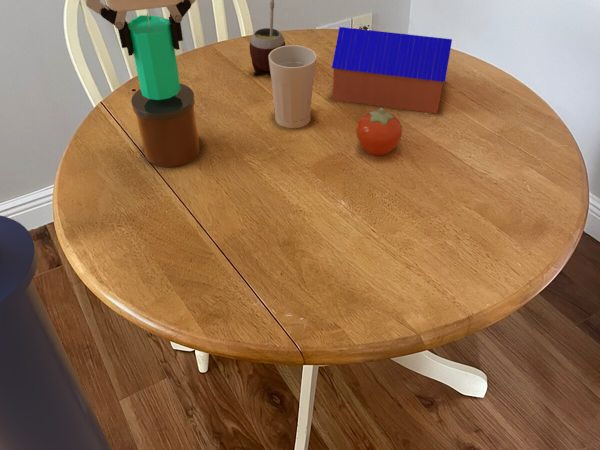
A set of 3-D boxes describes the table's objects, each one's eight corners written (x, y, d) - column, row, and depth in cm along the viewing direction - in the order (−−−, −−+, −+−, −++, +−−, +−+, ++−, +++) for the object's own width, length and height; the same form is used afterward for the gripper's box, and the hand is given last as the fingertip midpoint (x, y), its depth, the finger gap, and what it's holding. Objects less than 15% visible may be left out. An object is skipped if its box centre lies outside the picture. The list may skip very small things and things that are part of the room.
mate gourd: (260, 83, 114) (256, 8, 103) (243, 66, 119) (238, -8, 108) (294, 75, 116) (293, 0, 106) (276, 58, 121) (274, -15, 111)
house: (438, 114, 106) (450, 55, 98) (330, 100, 109) (332, 41, 101) (443, 82, 114) (454, 24, 106) (342, 69, 118) (345, 13, 110)
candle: (134, 87, 90) (118, 10, 82) (169, 76, 93) (157, 1, 84) (150, 104, 87) (135, 26, 78) (187, 92, 89) (176, 15, 81)
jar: (146, 173, 93) (133, 118, 86) (140, 139, 100) (128, 86, 93) (205, 163, 95) (198, 108, 88) (196, 130, 102) (189, 78, 95)
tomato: (389, 133, 101) (394, 93, 96) (406, 158, 96) (412, 117, 91) (348, 140, 100) (351, 99, 94) (363, 166, 95) (368, 124, 89)
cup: (261, 117, 105) (258, 55, 97) (294, 101, 109) (294, 40, 101) (291, 136, 101) (290, 73, 93) (324, 119, 105) (326, 57, 96)
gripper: (56, -73, 68) (93, 68, 81) (203, -85, 72) (216, 52, 84) (57, -91, 73) (91, 44, 86) (194, -101, 77) (208, 30, 89)
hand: (153, 47), depth 85 cm, fingers closed on candle, 5 cm apart
